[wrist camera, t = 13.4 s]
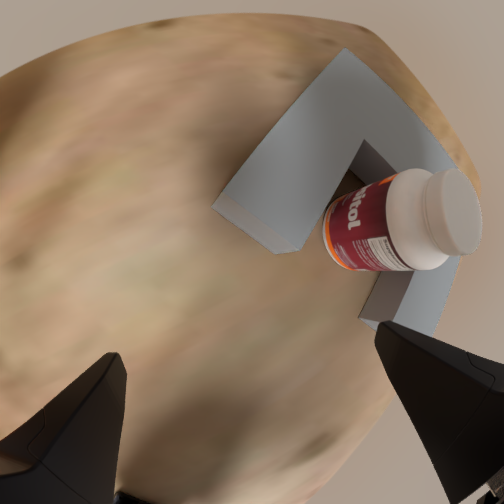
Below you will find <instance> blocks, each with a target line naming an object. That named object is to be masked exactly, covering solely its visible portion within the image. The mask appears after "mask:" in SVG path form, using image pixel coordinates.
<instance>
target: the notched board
mask: <svg viewBox="0 0 504 504" xmlns="http://www.w3.org/2000/svg"><path fill="white" fill-rule="evenodd" d="M348 168H349V169H350V170H351V171H352V172H353V173H354V174H355V175H356V176H357V177H358V178H360V179H361V180H362V181H363V182H364V183H365V184H366V185H367V186H368V185H370V184H372V183H375V182H378V181H380V180H383V179H385V178H388V177H390V176H393V175H395V174H398V173H400V172H403V171H406V170H408V169H414V168H418V169H423V170H426V171H429V172H430V173H432V174H433V175H434V174H435V173H436V172H440V171H444V170H448V169H451V168H455V169H458V167H457V166H456V165H455V163H454V162H453V160H452V159H451V158H450V156H449V155H448V153H447V152H446V151H445V149H444V148H443V147H442V146H441V144H440V143H439V142H438V140H437V139H436V138H435V137H434V135H433V134H432V133H431V132H430V130H429V129H428V128H427V127H426V126H425V124H424V123H423V122H422V121H421V120H420V119H419V117H418V116H417V115H416V114H415V113H414V112H413V111H412V110H411V109H410V107H409V106H408V105H407V104H406V103H405V102H404V101H403V100H402V99H401V98H400V97H399V96H398V95H397V94H396V93H395V92H394V91H393V90H392V89H391V88H390V87H389V86H388V85H387V84H386V83H385V82H384V81H383V80H382V79H381V78H380V77H379V76H378V75H377V74H376V73H374V72H373V71H372V70H371V69H370V68H369V67H368V66H367V65H366V64H364V63H363V62H362V61H361V60H360V59H359V58H357V57H356V56H355V55H354V54H353V53H351V52H350V51H349V50H348V49H347V48H344V49H343V50H342V51H341V52H340V53H339V54H338V55H337V56H336V57H335V58H334V59H333V60H332V61H331V62H330V63H329V64H328V66H327V67H326V68H325V69H324V70H323V71H322V72H321V73H320V74H319V75H318V76H317V78H316V79H315V80H314V81H313V82H312V83H311V84H310V85H309V86H308V88H307V89H306V90H305V91H304V92H303V93H302V94H301V95H300V97H299V98H298V99H297V100H296V101H295V102H294V103H293V105H292V106H291V107H290V108H289V109H288V110H287V112H286V113H285V114H284V115H283V116H282V118H281V119H280V120H279V121H278V122H277V123H276V125H275V126H274V127H273V128H272V129H271V131H270V132H269V133H268V134H267V135H266V137H265V138H264V139H263V140H262V142H261V143H260V144H259V145H258V146H257V148H256V149H255V150H254V151H253V153H252V154H251V155H250V156H249V158H248V159H247V160H246V161H245V163H244V164H243V165H242V167H241V168H240V169H239V170H238V172H237V173H236V174H235V175H234V177H233V178H232V179H231V181H230V182H229V183H228V185H227V186H226V187H225V188H224V190H223V191H222V192H221V194H220V195H219V197H218V198H217V199H216V201H215V202H214V203H213V205H212V206H211V208H213V209H214V210H215V211H217V212H218V213H219V214H221V215H222V216H223V217H225V218H226V219H228V220H229V221H230V222H232V223H233V224H234V225H236V226H237V227H238V228H240V229H241V230H242V231H244V232H245V233H246V234H248V235H249V236H250V237H252V238H253V239H255V240H256V241H257V242H259V243H260V244H261V245H263V246H264V247H265V248H267V249H268V250H269V251H271V252H272V253H273V254H282V253H288V252H295V251H300V250H301V248H302V247H303V245H304V243H305V242H306V240H307V238H308V237H309V235H310V233H311V232H312V230H313V228H314V227H315V225H316V223H317V221H318V220H319V218H320V216H321V215H322V213H323V211H324V210H325V208H326V206H327V204H328V203H329V201H330V199H331V197H332V196H333V194H334V192H335V191H336V189H337V187H338V185H339V183H340V182H341V180H342V178H343V176H344V175H345V173H346V171H347V169H348ZM460 257H461V256H456V257H453V256H449V257H448V259H447V260H446V261H445V262H444V263H443V264H442V265H440V266H439V267H437V268H434V269H431V270H422V271H421V270H413V271H381V273H380V275H379V278H378V280H377V282H376V284H375V286H374V288H373V290H372V292H371V294H370V296H369V298H368V300H367V302H366V304H365V306H364V308H363V310H362V311H361V313H360V315H359V317H358V318H359V319H361V320H362V321H363V322H365V323H366V324H367V325H368V326H370V327H371V328H372V329H374V330H375V331H377V327H378V324H379V323H380V322H382V321H386V320H391V321H393V322H396V323H398V324H400V325H403V326H405V327H408V328H410V329H413V330H415V331H418V332H420V333H422V334H425V335H427V336H430V337H432V336H433V333H434V331H435V328H436V326H437V324H438V321H439V319H440V316H441V314H442V311H443V309H444V306H445V303H446V301H447V298H448V295H449V292H450V289H451V286H452V283H453V280H454V277H455V274H456V270H457V267H458V264H459V260H460Z"/></svg>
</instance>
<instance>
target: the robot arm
mask: <svg viewBox="0 0 504 504" xmlns="http://www.w3.org/2000/svg"><path fill="white" fill-rule="evenodd" d="M374 343H375V347H376V350H377V352H378V354H379V357H380V359H381V361H382V364H383V366H384V368H385V371H386V373H387V376H388V378H389V380H390V382H391V384H392V385H393V387H394V389H395V391H396V393H397V395H398V396H399V398H400V400H401V402H402V404H403V406H404V408H405V410H406V411H407V413H408V415H409V417H410V419H411V421H412V423H413V425H414V427H415V429H416V431H417V433H418V435H419V437H420V439H421V441H422V443H423V445H424V447H425V449H426V451H427V453H428V455H429V457H430V459H431V462H432V464H433V466H434V468H435V470H436V472H437V475H438V477H439V479H440V481H441V484H442V486H443V488H444V490H445V493H446V495H447V497H448V500H449V502H450V504H459V503H460V502H461V501H463V500H464V499H466V498H467V497H468V496H470V495H471V494H472V493H474V492H475V491H476V490H478V489H479V488H480V487H481V486H483V485H484V484H485V483H486V484H487V486H488V488H489V489H490V490H489V491H488V492H487V493H486V494H484V495H483V496H482V497H481V498H480V499H478V500H477V503H476V504H504V364H501V363H498V362H494V361H492V360H489V359H486V358H483V357H480V356H477V355H475V354H472V353H469V352H466V351H465V350H462V349H459V348H457V347H454V346H452V345H450V344H447V343H445V342H442V341H440V340H437V339H435V338H432V337H430V336H427V335H425V334H422V333H420V332H418V331H415V330H413V329H410V328H408V327H405V326H403V325H400V324H398V323H396V322H393V321H391V320H386V321H382V322H380V323H379V324H378V327H377V331H376V336H375V340H374ZM126 381H127V373H126V369H125V367H124V364H123V362H122V359H121V357H120V355H119V353H117V352H108V353H106V354H105V355H103V356H102V357H101V358H100V359H99V360H98V361H96V362H95V363H94V364H93V365H92V366H91V367H89V368H88V369H87V370H86V371H85V372H84V373H82V374H81V375H80V376H79V377H78V378H77V379H75V380H74V381H73V382H72V383H71V384H70V385H68V386H67V387H66V388H65V389H64V390H63V391H61V392H60V393H59V394H58V395H57V396H56V397H55V398H53V399H52V400H51V401H50V402H49V403H48V404H46V405H45V406H44V407H43V408H42V409H41V410H40V411H38V412H37V413H36V414H35V415H34V416H33V417H31V418H30V419H29V420H28V421H27V422H25V423H24V424H23V425H21V426H20V427H19V428H17V429H16V430H15V431H13V432H12V433H10V434H9V435H8V436H6V437H5V438H3V439H2V440H1V441H0V504H150V503H147V502H145V501H142V500H140V499H137V498H135V497H132V496H130V495H128V494H125V493H123V492H117V493H116V494H115V496H114V488H115V478H116V469H117V460H118V452H119V445H120V438H121V432H122V425H123V419H124V411H125V394H126Z"/></svg>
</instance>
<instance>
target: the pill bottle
mask: <svg viewBox="0 0 504 504" xmlns="http://www.w3.org/2000/svg"><path fill="white" fill-rule="evenodd" d="M481 235H482V214H481V208H480V205H479V200H478V197H477V194H476V192H475V189H474V187H473V185H472V183H471V182H470V180H469V179H468V177H467V176H466V175H465V174H464V173H463V172H462V171H460V170H459V169H455V168H451V169H448V170H444V171H440V172H436V173H435V174H434V175H433V174H432V173H430V172H429V171H426V170H423V169H418V168H414V169H408V170H406V171H403V172H400V173H398V174H395V175H393V176H390V177H388V178H385V179H383V180H380V181H378V182H375V183H372V184H370V185H368V186H365V187H363V188H360V189H358V190H355V191H352V192H350V193H347V194H345V195H343V196H341V197H339V198H337V199H336V200H335V201H333V202H332V203H331V205H330V206H329V207H328V209H327V211H326V213H325V216H324V220H323V239H324V243H325V246H326V249H327V251H328V252H329V254H330V256H331V257H332V258H333V259H334V261H335V262H336V263H338V264H339V265H340V266H342V267H344V268H346V269H348V270H353V271H413V270H421V271H422V270H431V269H434V268H437V267H439V266H440V265H442V264H443V263H444V262H445V261H446V260H447V259H448V257H449V256H453V257H456V256H464V255H470V254H472V253H473V252H474V251H475V250H476V249H477V248H478V245H479V243H480V240H481Z"/></svg>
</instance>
